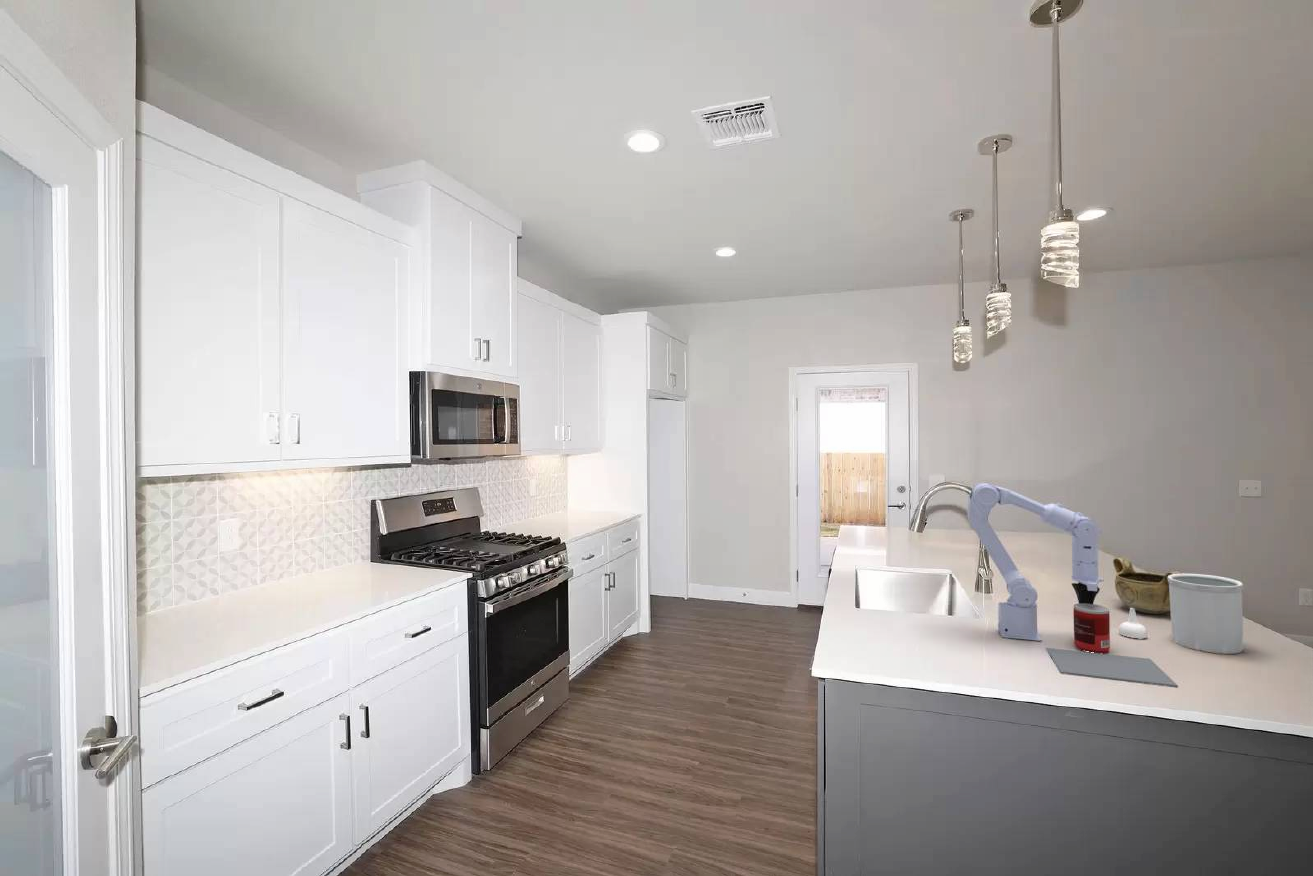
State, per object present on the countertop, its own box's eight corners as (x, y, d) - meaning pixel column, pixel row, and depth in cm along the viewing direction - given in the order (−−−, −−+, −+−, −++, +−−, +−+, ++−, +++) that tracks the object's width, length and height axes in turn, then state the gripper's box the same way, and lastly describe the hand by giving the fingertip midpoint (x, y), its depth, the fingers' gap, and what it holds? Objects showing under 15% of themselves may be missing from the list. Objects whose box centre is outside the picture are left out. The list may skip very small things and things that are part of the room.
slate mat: (1060, 673, 141) (1060, 671, 141) (1046, 649, 157) (1046, 647, 157) (1177, 687, 133) (1177, 685, 133) (1150, 660, 148) (1150, 658, 148)
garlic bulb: (1152, 642, 162) (1154, 613, 162) (1126, 639, 163) (1128, 610, 163) (1138, 635, 168) (1141, 607, 168) (1113, 631, 170) (1116, 604, 169)
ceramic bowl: (1094, 602, 198) (1094, 557, 198) (1142, 600, 199) (1142, 556, 199) (1155, 623, 176) (1154, 573, 176) (1209, 621, 177) (1208, 571, 177)
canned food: (1108, 646, 158) (1107, 605, 158) (1111, 656, 151) (1110, 613, 151) (1073, 641, 162) (1072, 601, 162) (1074, 651, 155) (1074, 609, 155)
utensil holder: (1167, 646, 158) (1166, 580, 158) (1169, 632, 168) (1168, 570, 168) (1245, 659, 148) (1244, 589, 147) (1242, 643, 158) (1241, 578, 158)
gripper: (1111, 567, 153) (1112, 620, 154) (1095, 557, 167) (1095, 605, 167) (1078, 566, 156) (1079, 617, 156) (1065, 555, 170) (1066, 603, 170)
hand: (1085, 611), depth 162 cm, fingers closed
